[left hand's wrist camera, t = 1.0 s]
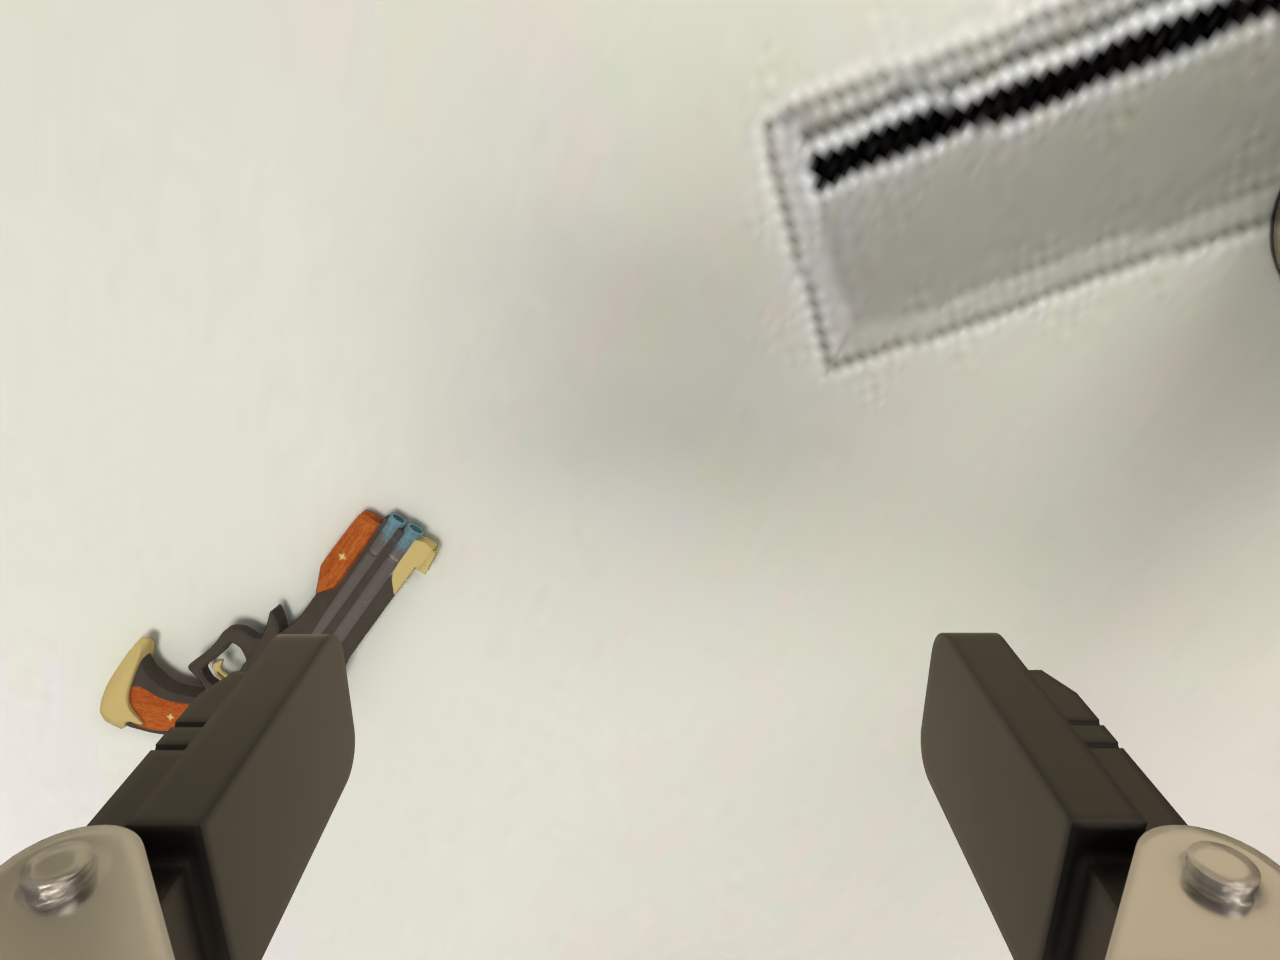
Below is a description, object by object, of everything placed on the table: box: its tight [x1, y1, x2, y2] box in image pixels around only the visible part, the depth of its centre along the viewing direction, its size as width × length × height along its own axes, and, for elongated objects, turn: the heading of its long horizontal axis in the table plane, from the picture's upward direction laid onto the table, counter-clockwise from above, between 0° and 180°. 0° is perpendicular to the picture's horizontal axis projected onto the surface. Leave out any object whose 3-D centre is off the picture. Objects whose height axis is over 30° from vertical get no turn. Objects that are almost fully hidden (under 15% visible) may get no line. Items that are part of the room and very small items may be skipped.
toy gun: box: [100, 511, 439, 734], centre depth 44 cm, size 3×19×10 cm
